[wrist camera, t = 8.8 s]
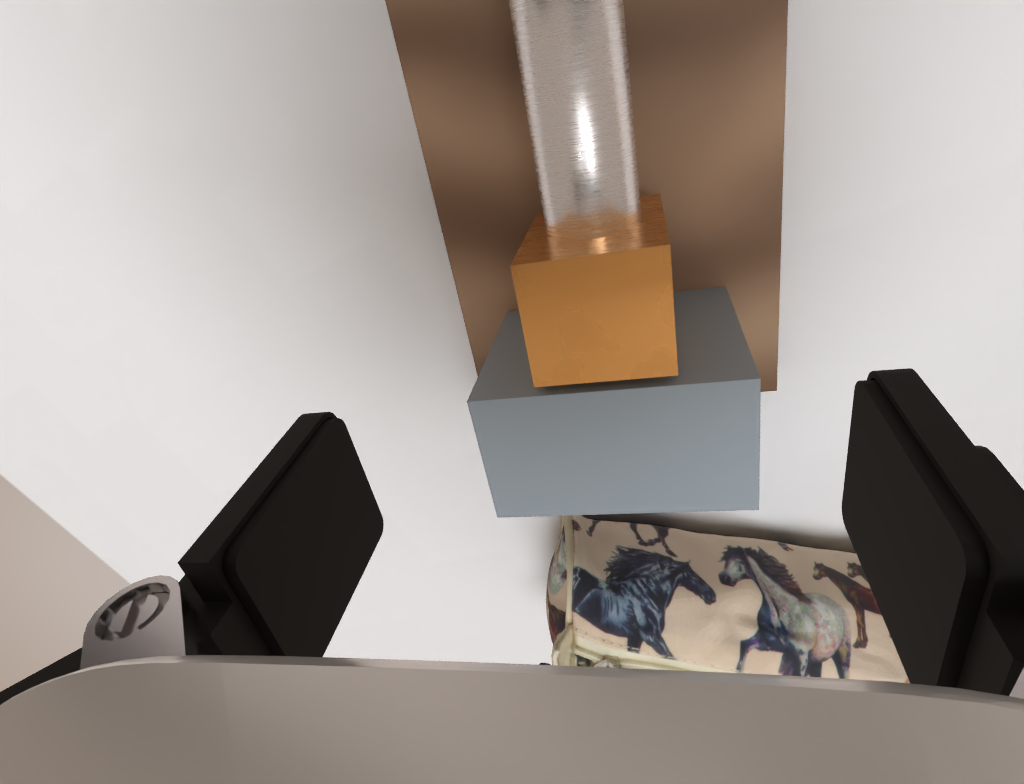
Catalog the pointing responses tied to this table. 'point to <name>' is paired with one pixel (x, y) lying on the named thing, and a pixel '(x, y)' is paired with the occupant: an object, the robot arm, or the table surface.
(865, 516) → the robot arm
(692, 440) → the socket
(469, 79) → the board
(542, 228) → the tube
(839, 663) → the pencil case
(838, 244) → the table surface
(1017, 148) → the table surface
